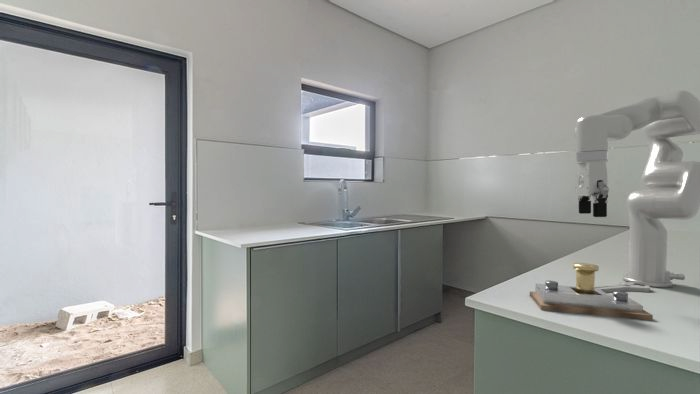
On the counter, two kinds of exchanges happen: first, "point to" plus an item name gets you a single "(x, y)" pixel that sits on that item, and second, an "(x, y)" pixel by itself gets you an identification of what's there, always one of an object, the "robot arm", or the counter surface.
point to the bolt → (585, 277)
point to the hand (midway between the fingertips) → (591, 215)
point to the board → (591, 310)
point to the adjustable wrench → (624, 287)
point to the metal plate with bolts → (585, 297)
